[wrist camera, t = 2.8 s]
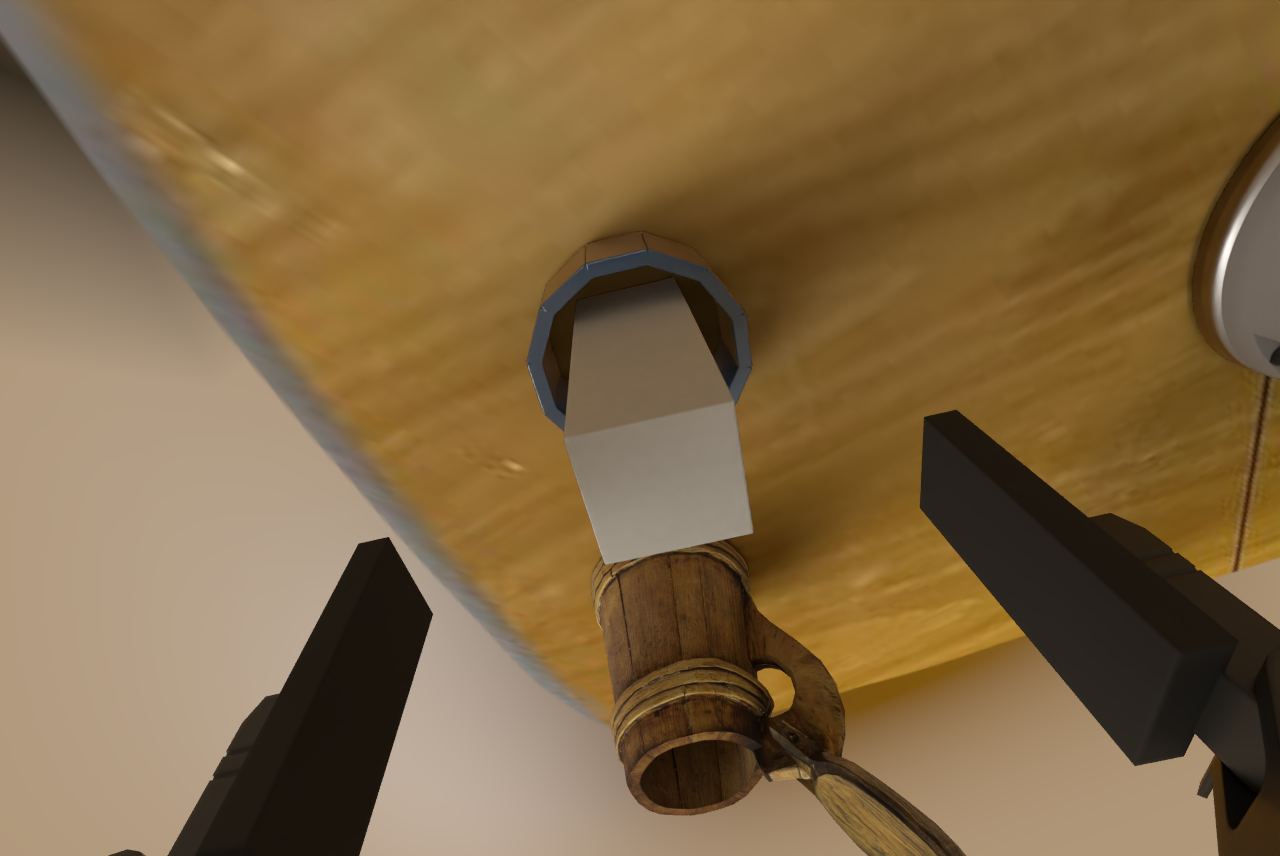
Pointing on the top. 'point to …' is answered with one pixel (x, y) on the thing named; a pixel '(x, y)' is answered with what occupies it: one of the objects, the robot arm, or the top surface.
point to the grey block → (652, 426)
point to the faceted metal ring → (621, 257)
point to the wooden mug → (730, 701)
